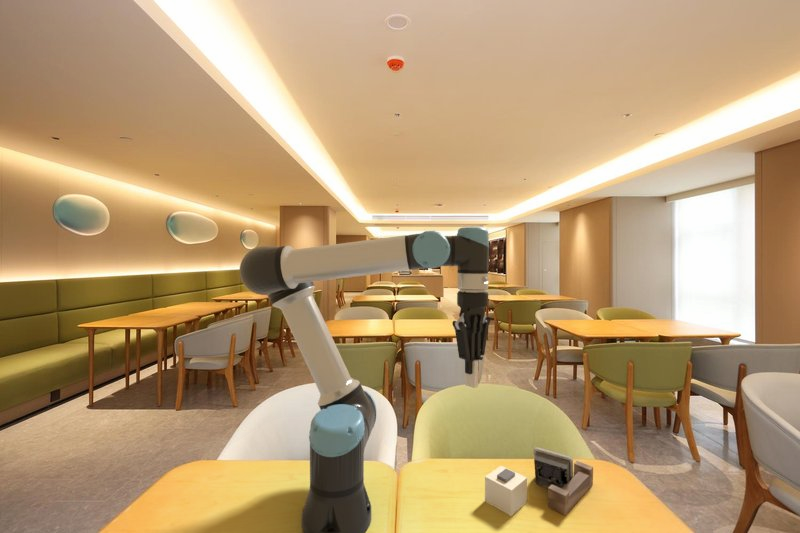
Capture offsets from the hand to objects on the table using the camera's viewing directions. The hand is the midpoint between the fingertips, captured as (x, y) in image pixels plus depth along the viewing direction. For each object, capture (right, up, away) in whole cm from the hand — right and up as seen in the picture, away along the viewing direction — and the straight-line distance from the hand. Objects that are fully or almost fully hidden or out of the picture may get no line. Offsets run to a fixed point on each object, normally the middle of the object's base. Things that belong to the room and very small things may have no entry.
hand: (471, 385), depth 91 cm
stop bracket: (+25, -27, -1) cm, 36 cm away
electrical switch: (+21, -27, +2) cm, 34 cm away
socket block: (+8, -27, -3) cm, 28 cm away
